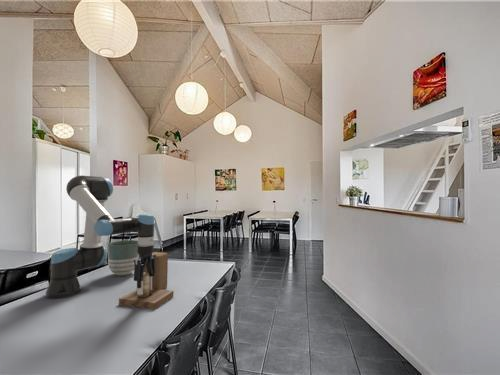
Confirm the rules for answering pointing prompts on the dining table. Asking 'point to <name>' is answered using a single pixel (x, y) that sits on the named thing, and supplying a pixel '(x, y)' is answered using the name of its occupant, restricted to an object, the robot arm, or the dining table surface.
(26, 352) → the dining table surface
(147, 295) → the peg
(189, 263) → the dining table surface
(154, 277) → the wooden block
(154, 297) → the seat board
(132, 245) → the planter
